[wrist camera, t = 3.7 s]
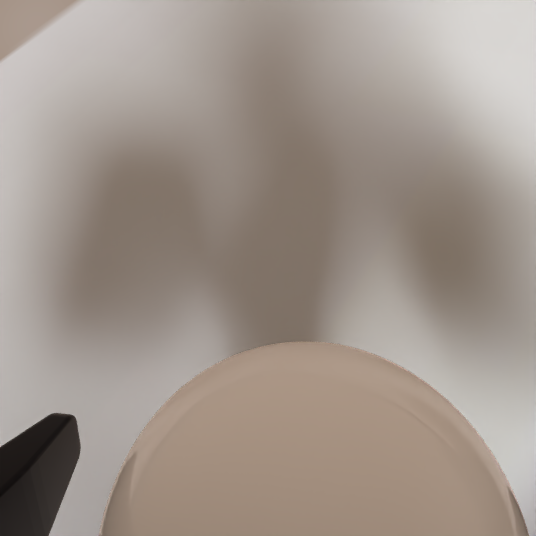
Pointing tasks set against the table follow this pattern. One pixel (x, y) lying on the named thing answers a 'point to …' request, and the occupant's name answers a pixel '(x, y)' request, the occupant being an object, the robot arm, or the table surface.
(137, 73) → the table surface
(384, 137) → the table surface
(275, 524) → the lightbulb
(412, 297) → the table surface
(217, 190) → the table surface
